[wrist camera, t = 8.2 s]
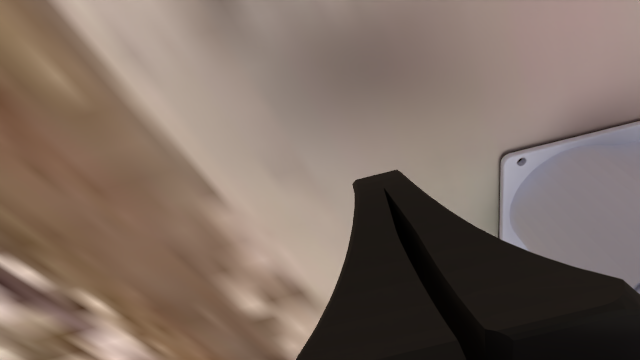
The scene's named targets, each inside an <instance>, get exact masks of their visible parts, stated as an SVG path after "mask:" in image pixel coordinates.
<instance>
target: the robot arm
mask: <svg viewBox="0 0 640 360" xmlns="http://www.w3.org/2000/svg"><path fill="white" fill-rule="evenodd" d="M520 158H522V160H521V161H520V162H517V161H518V160H519V159H520ZM353 189H354V193H355V208H354V218H353V226H352V232H351V237H350V241H349V246H348V250H347V254H346V258H345V261H344V264H343V267H342V271H341V273H340V276H339V279H338V281H337V284H336V287H335V289H334V292H333V294H332V296H331V298H330V301H329V303H328V305H327V307H326V309H325V311H324V313H323V315H322V317H321V318H320V320H319V322H318V324H317V326H316V328H315V330H314V331H313V333H312V335H311V336H310V338H309V339H308V341H307V343H306V344H305V346H304V347H303V349H302V350H301V352H300V354H299V355H298V357H297V358H296V360H640V121H638V122H633V123H629V124H625V125H621V126H617V127H613V128H609V129H605V130H601V131H597V132H593V133H589V134H585V135H581V136H577V137H573V138H569V139H565V140H561V141H557V142H553V143H549V144H545V145H541V146H537V147H533V148H529V149H525V150H521V151H517V152H513V153H509V154H507V155H505V156H504V157H503V158H502V160H501V176H500V235H499V238H497V237H495V236H493V235H491V234H489V233H487V232H485V231H483V230H481V229H479V228H477V227H475V226H474V225H472V224H470V223H469V222H467V221H465V220H464V219H462V218H460V217H459V216H457V215H456V214H454V213H453V212H451V211H450V210H448V209H447V208H445V207H444V206H442V205H441V204H440V203H438V202H437V201H436V200H434V199H433V198H431V197H430V196H429V195H427V194H426V193H425V192H424V191H422V190H421V189H420V188H419V187H417V186H416V185H415V184H414V183H413V182H411V181H410V180H409V179H408V178H407V177H406V176H405V175H403V174H402V173H401V172H400V171H398V170H394V171H390V172H386V173H382V174H378V175H374V176H370V177H366V178H362V179H358V180H355V182H354V183H353Z"/></svg>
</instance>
